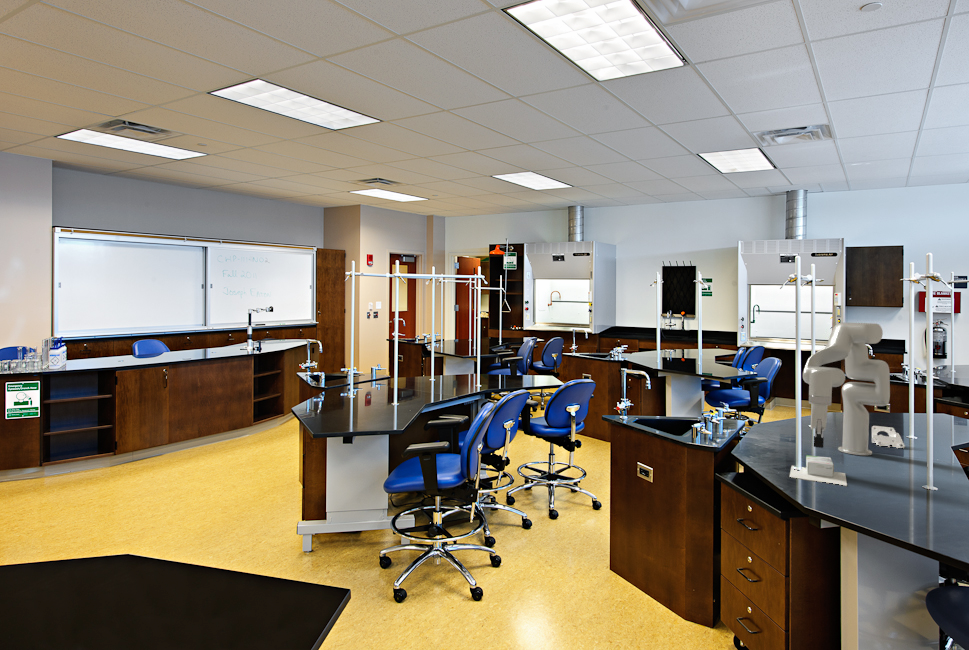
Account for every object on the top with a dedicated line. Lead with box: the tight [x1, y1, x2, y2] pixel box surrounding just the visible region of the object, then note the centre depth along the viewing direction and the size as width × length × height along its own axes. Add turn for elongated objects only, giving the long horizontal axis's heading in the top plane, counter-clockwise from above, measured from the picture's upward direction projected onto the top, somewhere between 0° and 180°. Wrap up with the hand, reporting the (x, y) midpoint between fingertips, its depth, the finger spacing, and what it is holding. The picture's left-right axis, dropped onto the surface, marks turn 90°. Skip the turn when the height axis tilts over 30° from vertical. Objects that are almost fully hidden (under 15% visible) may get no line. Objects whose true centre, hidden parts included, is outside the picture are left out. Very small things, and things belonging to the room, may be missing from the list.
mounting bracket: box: [871, 425, 906, 449], centre depth 255 cm, size 12×6×11 cm, turn 59°
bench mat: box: [789, 465, 848, 487], centre depth 205 cm, size 18×18×1 cm
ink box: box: [805, 454, 835, 477], centre depth 208 cm, size 9×5×12 cm
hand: (818, 446), depth 210 cm, fingers closed
